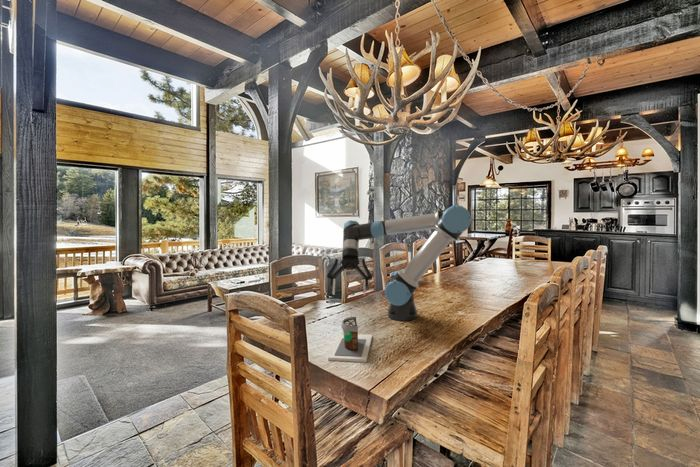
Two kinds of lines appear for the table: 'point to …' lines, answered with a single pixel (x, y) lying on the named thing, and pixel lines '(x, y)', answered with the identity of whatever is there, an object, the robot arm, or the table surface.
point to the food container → (350, 333)
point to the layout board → (347, 355)
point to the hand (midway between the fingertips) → (348, 293)
